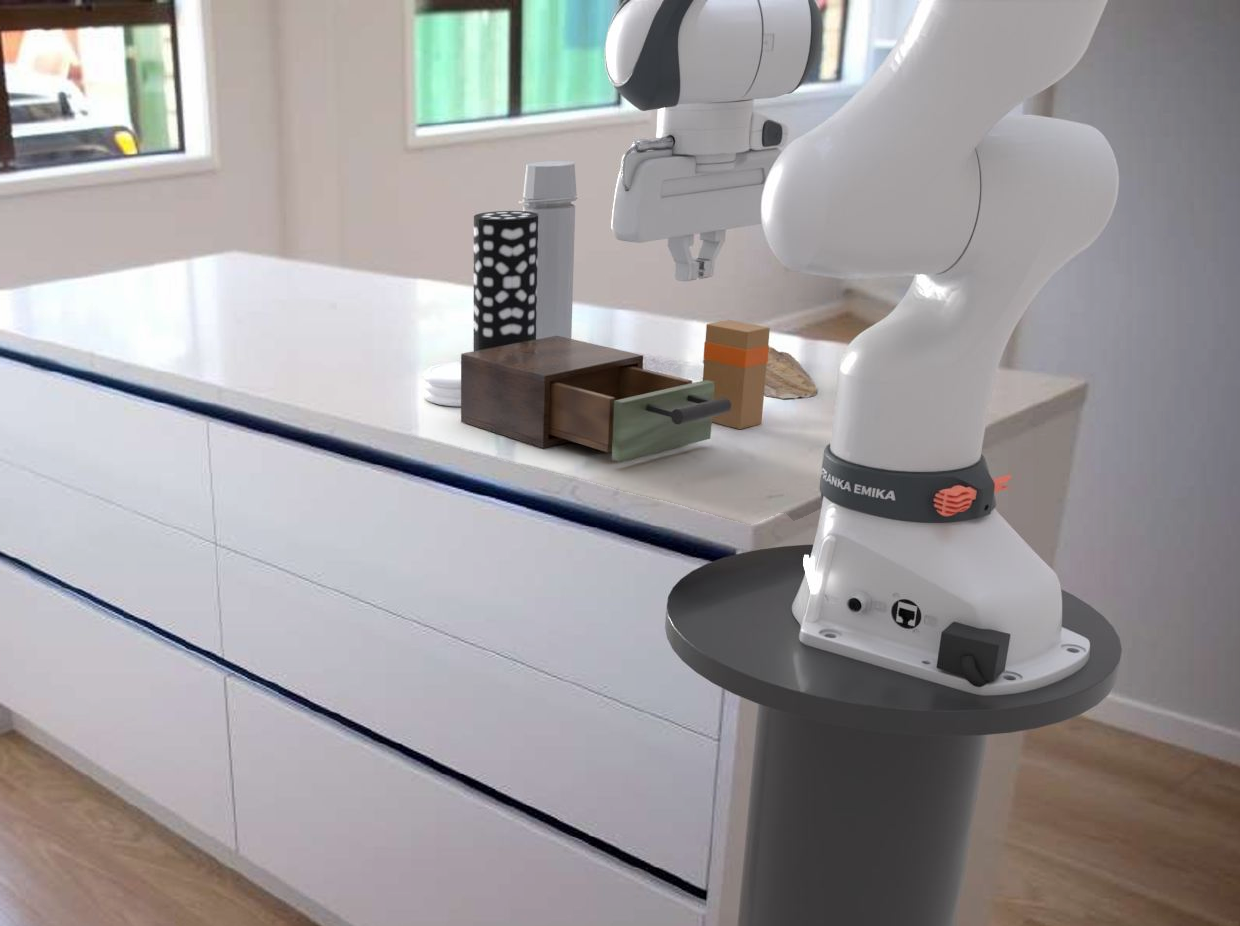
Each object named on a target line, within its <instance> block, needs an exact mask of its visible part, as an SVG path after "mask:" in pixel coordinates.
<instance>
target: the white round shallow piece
mask: <svg viewBox="0 0 1240 926" xmlns="http://www.w3.org/2000/svg"><path fill="white" fill-rule="evenodd" d="M423 379H424V382H423V388H424V391H423V396H424V397H425V399H426V400H427V401H428V402H430V403H432V404H436V405H440V406H447V407H461V361H452V362H445V363H439V364H435V365H432V366H430V367H428V368H427V369H426V370H425V371H424V373H423Z"/></svg>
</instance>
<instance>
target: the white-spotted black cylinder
mask: <svg viewBox="0 0 1240 926" xmlns="http://www.w3.org/2000/svg"><path fill="white" fill-rule="evenodd" d="M538 216H539V214H538V213H535V212H528V211H523V210H497V211H486V212H480V213H477V214H474V215H473V351H478V350H484V349H489V348H494V347H499V346H505V345H510V344H515V343H520V342H526V341H531V340H536V319H537V267H538Z"/></svg>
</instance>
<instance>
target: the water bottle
mask: <svg viewBox="0 0 1240 926" xmlns="http://www.w3.org/2000/svg"><path fill="white" fill-rule="evenodd" d="M576 179H577V178H576V164H575V163H574V162H573V161H566V160H559V161H558V160H552V161H551V160H550V161H536V162H530V163H526V166H525V176H524V183H523V184H524V185H523V194H522V197H523V198H522V200H519V201H518V204H526V205H523V206H522V211H528V212H535V213H538V214H539V216H538V267H537V319H536V339H541V338H547V337H552V336H560V337H565V338H569V339H572V330H573V329H572V327H573V300H574V299H573V298H574V297H573V295H574V293H573V292H574V265H575V263H574V261H575V230H576V229H575V227H576V205H575V204H573V203H572V202H575V201H577V200H578V197H577V194H578V193H577V180H576Z"/></svg>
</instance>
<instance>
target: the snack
mask: <svg viewBox="0 0 1240 926" xmlns="http://www.w3.org/2000/svg"><path fill="white" fill-rule="evenodd" d="M705 326H706V327H705V341H704V345H703V346H704V347H703V358H702V359H703V360H704V361H703V369H702V381H704V380H709V381H713V382H715V383H714V396H713V400H715V399H720V398H724V397H725V398H728V399H729V400H730V402H731V409H730V411H729V412H728V413H724V414H720V415H716V416H712V423H715V424H717V425H721V426H726V427H729V428H732V429H736V430H743V429H747V428H750V427H755V426H759V425H762V422H763V413H764V398H765V395H764V389H765V378H766V366H767V363H768V352H769V347H770V344H769V343H770V330H771V328H770V327H769V326H764V325H758V324H753V323H748V322H744V321H738V320H732V319H726V320H721V321H715V322H711V323H707V324H706V325H705Z"/></svg>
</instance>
